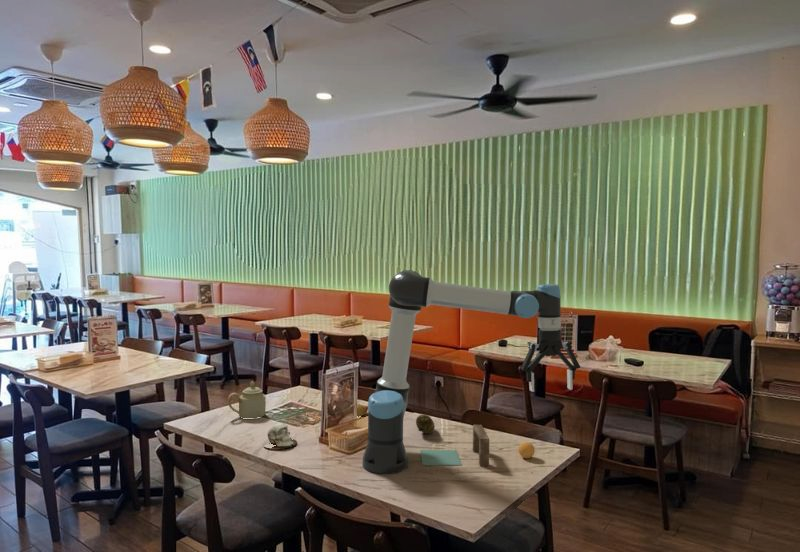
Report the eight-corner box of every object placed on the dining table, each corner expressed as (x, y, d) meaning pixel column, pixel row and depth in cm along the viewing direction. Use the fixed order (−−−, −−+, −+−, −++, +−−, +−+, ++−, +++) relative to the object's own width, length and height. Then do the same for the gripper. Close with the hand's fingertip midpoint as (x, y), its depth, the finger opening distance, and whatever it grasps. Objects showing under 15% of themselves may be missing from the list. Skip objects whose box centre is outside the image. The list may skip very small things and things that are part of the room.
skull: (306, 440, 194) (291, 425, 188) (289, 465, 188) (274, 450, 182) (285, 432, 201) (270, 417, 195) (268, 455, 196) (253, 440, 190)
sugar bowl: (245, 423, 215) (245, 387, 214) (226, 419, 220) (226, 383, 219) (271, 414, 228) (271, 380, 227) (252, 410, 233) (252, 376, 232)
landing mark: (422, 465, 175) (422, 464, 175) (420, 450, 188) (420, 450, 188) (461, 465, 175) (461, 464, 175) (456, 450, 188) (456, 450, 188)
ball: (520, 460, 179) (520, 445, 179) (516, 454, 185) (516, 439, 185) (536, 460, 179) (536, 445, 179) (531, 454, 185) (532, 439, 185)
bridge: (479, 466, 174) (480, 438, 174) (472, 449, 189) (473, 424, 188) (488, 466, 174) (489, 438, 174) (480, 449, 189) (481, 424, 189)
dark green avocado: (442, 430, 210) (442, 410, 209) (428, 439, 198) (428, 419, 198) (423, 426, 214) (423, 407, 213) (408, 436, 202) (409, 415, 202)
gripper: (517, 332, 176) (519, 394, 177) (589, 328, 179) (590, 390, 179) (511, 329, 184) (512, 389, 185) (580, 326, 186) (581, 385, 187)
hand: (550, 390), depth 182 cm, fingers open, 13 cm apart
